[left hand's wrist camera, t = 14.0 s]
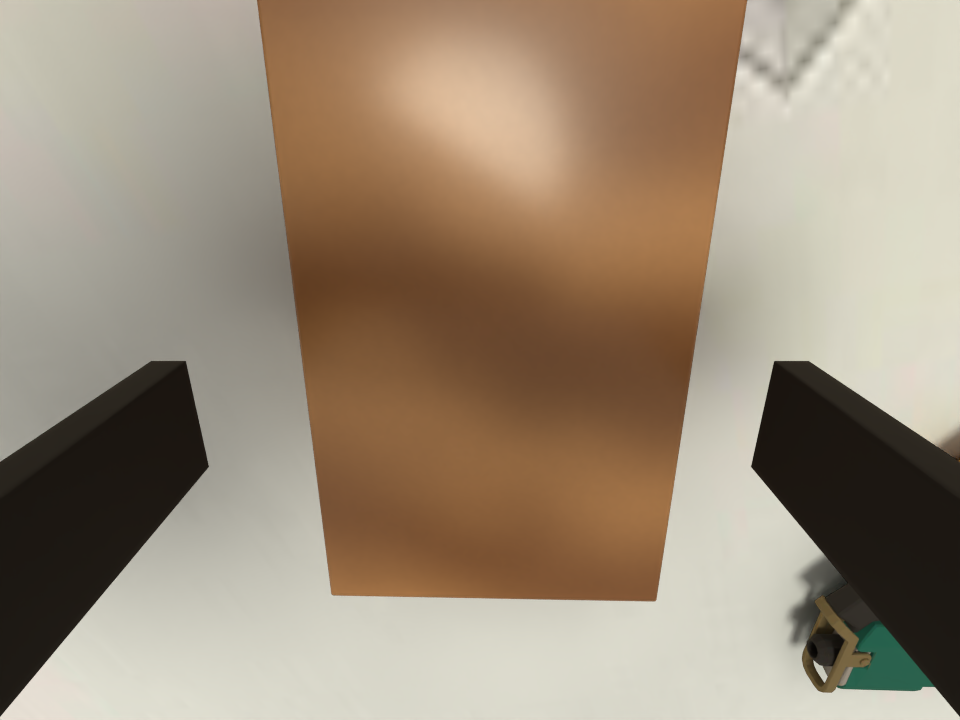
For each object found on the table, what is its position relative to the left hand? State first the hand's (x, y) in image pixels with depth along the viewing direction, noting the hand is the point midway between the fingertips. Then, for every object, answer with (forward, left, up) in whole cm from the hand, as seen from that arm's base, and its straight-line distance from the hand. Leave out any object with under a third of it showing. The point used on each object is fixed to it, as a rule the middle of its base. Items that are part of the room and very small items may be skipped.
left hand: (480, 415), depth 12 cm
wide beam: (-14, +25, -9) cm, 30 cm away
